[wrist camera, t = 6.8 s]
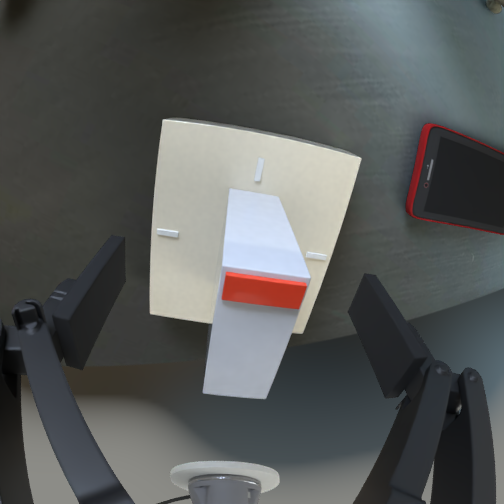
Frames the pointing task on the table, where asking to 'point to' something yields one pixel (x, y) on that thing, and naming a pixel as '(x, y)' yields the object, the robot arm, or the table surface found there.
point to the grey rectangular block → (253, 296)
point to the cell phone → (457, 181)
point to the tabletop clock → (495, 5)
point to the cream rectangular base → (215, 199)
